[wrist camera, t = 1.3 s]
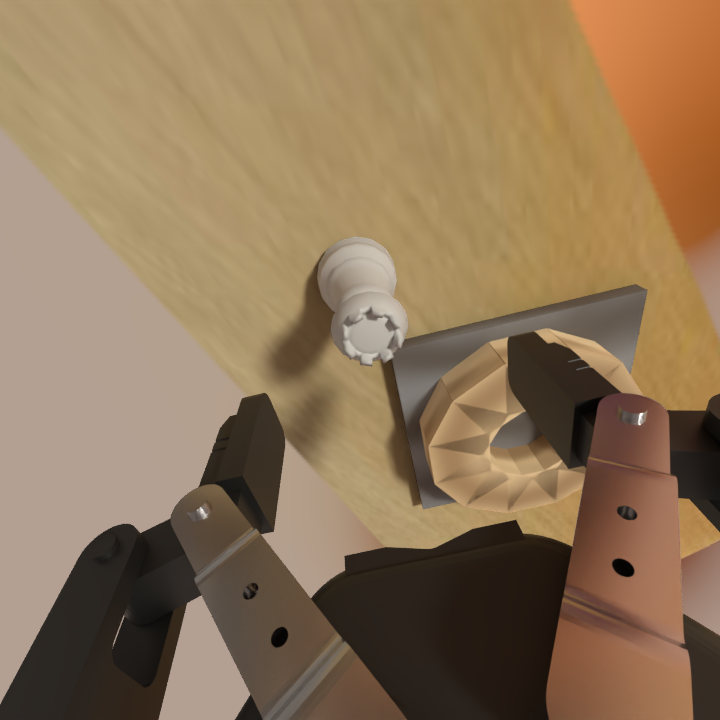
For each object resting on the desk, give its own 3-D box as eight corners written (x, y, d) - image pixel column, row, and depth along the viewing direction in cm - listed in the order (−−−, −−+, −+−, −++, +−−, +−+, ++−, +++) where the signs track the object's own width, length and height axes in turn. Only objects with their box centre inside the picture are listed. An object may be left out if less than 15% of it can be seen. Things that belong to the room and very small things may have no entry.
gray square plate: (388, 343, 24) (397, 374, 21) (635, 284, 24) (682, 307, 21) (420, 499, 33) (431, 537, 30) (603, 458, 32) (633, 493, 29)
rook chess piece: (375, 319, 23) (398, 396, 16) (306, 295, 22) (300, 369, 15) (406, 251, 21) (448, 308, 14) (332, 221, 20) (339, 267, 13)
